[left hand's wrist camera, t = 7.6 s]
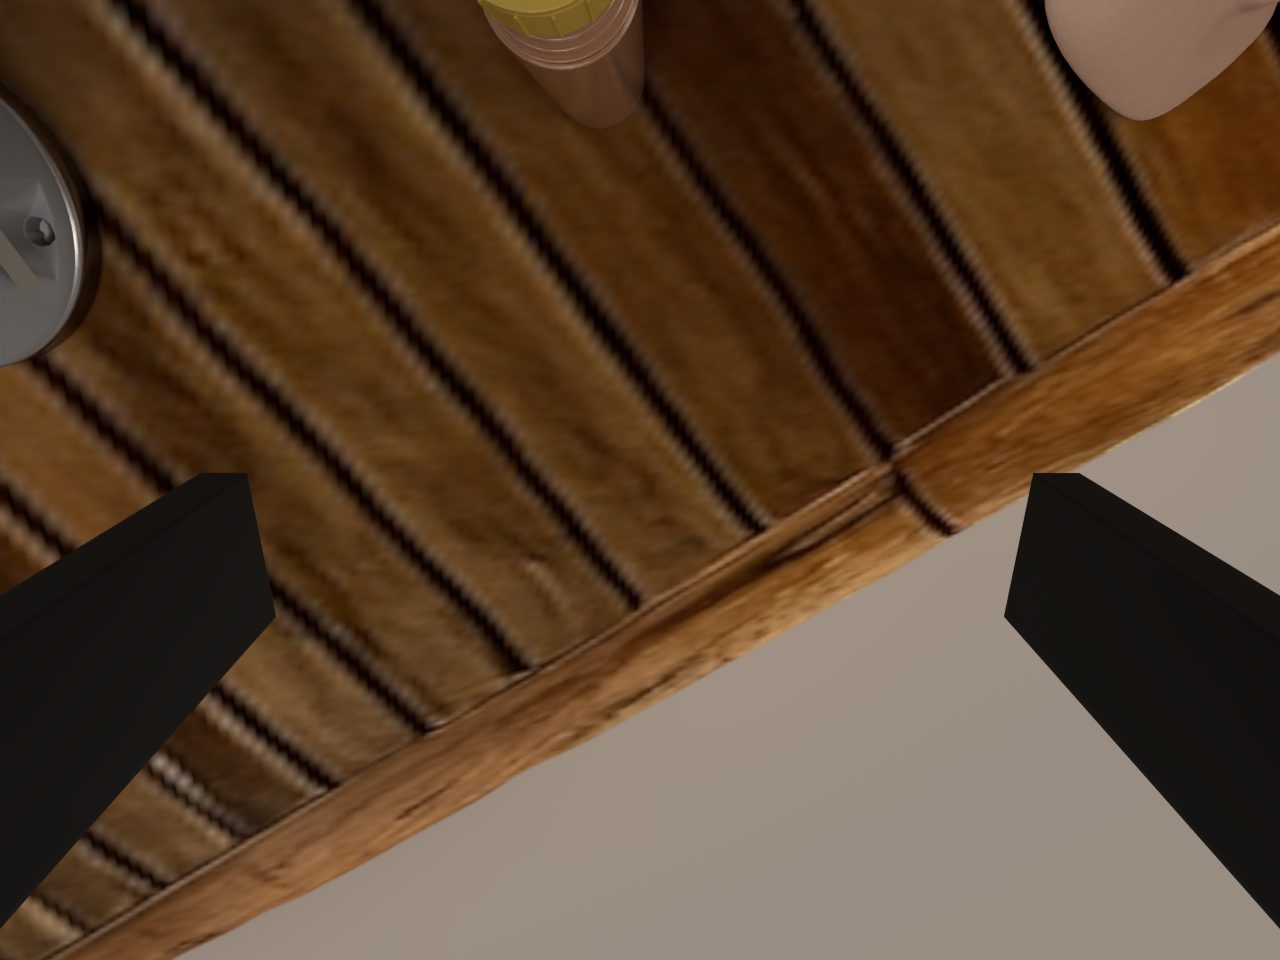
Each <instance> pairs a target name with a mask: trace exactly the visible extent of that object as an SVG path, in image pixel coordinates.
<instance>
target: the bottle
mask: <svg viewBox="0 0 1280 960" xmlns="http://www.w3.org/2000/svg"><path fill="white" fill-rule="evenodd" d="M483 11H484V14H485V16H486V18H487V20H488V22H489V24H490V26H491V27H492V29H493V30H494V32H495V33H496V35H497V36H498V37H499V39H500V40H501V41H502V42H503V43H504V45H505V46H506V47H507V48H508V49H509V50H510V52H511V53H512V54H513V55H514V56H515V57H516V58H517V59H518V61H519V62H520V63H521V64H522V65H523V66H524V67H525V69H526V70H527V71H528V72H529V73H530V74H531V75H532V77H533V78H534V79H535V80H536V81H537V82H538V83H539V85H540V86H541V87H542V88H543V89H544V90H545V91H546V93H547V94H548V95H549V96H550V97H551V98H552V99H553V101H554V102H555V103H556V104H557V105H558V106H559V107H560V109H561V110H562V111H563V112H564V113H565V114H566V115H567V116H568V117H569V118H570V119H572V120H573V121H575V122H576V123H578V124H580V125H583V126H585V127H589V128H607V127H611V126H614V125H616V124H618V123H620V122H622V121H623V120H624V119H626V118H627V117H628V116H629V115H630V114H631V113H632V112H633V110H634V109H635V108H636V106H637V104H638V103H639V101H640V98H641V96H642V93H643V90H644V84H645V56H644V29H643V2H642V0H611V2H610V3H609V4H608V6H607V7H606V8H605V9H604V10H603V11H602V12H601V13H600V14H599V15H598V16H597V17H596V21H595V22H593V21H591V22H590V23H588V24H586V25H585V26H583V27H581V28H580V29H578V30H575V31H573V32H570V33H567V34H564V37H561V36H560V35H559V36H550V37H541V36H532V35H530V37H526V36H525V34H523V33H520V32H518V31H515V30H512V29H511V28H509V27H507V26H505V25H503V24H501V23H500V22H499V21H497V22H494V21H493V20H492V18H491V17H490V16H489V15H488V14H487V12H486V11H485V10H484V9H483Z"/></svg>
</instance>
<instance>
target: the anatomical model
mask: <svg viewBox="0 0 1280 960" xmlns="http://www.w3.org/2000/svg"><path fill="white" fill-rule="evenodd" d="M1279 1H1280V0H1045V10H1046V15H1047V19H1048V23H1049V27H1050V29H1051V32H1052V34H1053V37H1054V39H1055V41H1056V43H1057V45H1058V47H1059V49H1060V51H1061V53H1062V55H1063V56H1064V58H1065V59H1066V60H1067V62H1068V63H1069V65H1070V66H1071V68H1072V69H1073V70H1074V72H1075V73H1076V74H1077V75H1078V76H1079V77H1080V79H1081V80H1082V81H1083V82H1084V83H1085V84H1086V86H1087V87H1088V88H1089V89H1090V90H1091V91H1092V92H1093V93H1095V94H1096V95H1097V96H1098V97H1099V98H1100V99H1101V100H1102V101H1103V102H1104V103H1105V104H1107V105H1108V106H1109V107H1110V108H1112V109H1113V110H1114V111H1116V112H1118V113H1119V114H1121V115H1122V116H1125V117H1127V118H1130V119H1134V120H1149V119H1152V118H1155V117H1158V116H1160V115H1162V114H1164V113H1166V112H1168V111H1170V110H1171V109H1173V108H1174V107H1176V106H1177V105H1179V104H1181V103H1182V102H1184V101H1185V100H1186V99H1188V98H1189V97H1190V96H1191V95H1193V94H1194V93H1195V92H1197V91H1198V90H1199V89H1201V88H1202V87H1203V86H1205V85H1206V84H1207V83H1208V82H1210V81H1211V80H1212V79H1214V78H1215V77H1216V76H1217V75H1219V74H1220V73H1221V72H1222V71H1223V70H1224V69H1226V68H1227V67H1228V66H1229V65H1230V64H1231V63H1232V62H1233V61H1234V60H1235V59H1236V58H1237V57H1238V56H1239V55H1240V54H1241V53H1242V52H1243V51H1244V50H1245V49H1246V48H1247V47H1248V46H1249V45H1250V44H1251V43H1252V42H1253V41H1254V40H1255V39H1256V38H1257V37H1258V35H1259V34H1260V33H1261V32H1262V30H1263V29H1264V28H1265V26H1266V25H1267V23H1268V22H1269V20H1270V18H1271V17H1272V15H1273V12H1274V10H1275V7H1276V5H1277V2H1279Z"/></svg>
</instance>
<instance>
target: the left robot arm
mask: <svg viewBox="0 0 1280 960" xmlns="http://www.w3.org/2000/svg"><path fill="white" fill-rule="evenodd" d="M99 263H100V258H99V240H98V232H97V227H96V222H95V217H94V214H93V210H92V207H91V203H90V200H89V198H88V195H87V193H86V190H85V187H84V185H83V183H82V181H81V179H80V177H79V175H78V172H77V170H76V169H75V167H74V165H73V163H72V162H71V160H70V158H69V157H68V155H67V153H66V152H65V150H64V149H63V147H62V146H61V145H60V143H59V142H58V140H57V139H56V138H55V136H54V135H53V134H52V133H51V131H50V130H49V129H48V128H47V126H46V125H45V124H44V123H43V122H42V121H41V120H40V119H39V118H38V116H37V115H36V114H35V113H34V112H33V111H32V110H31V109H30V108H29V107H28V106H26V105H25V104H24V103H23V102H22V101H21V100H20V99H19V98H18V97H16V96H15V95H14V94H13V93H11V92H10V91H9V90H8V89H6V88H5V87H4V86H2V85H1V84H0V367H5V366H9V365H13V364H17V363H21V362H25V361H28V360H32V359H34V358H37V357H39V356H42V355H44V354H46V353H48V352H49V351H51V350H53V349H55V348H56V347H57V346H59V345H60V344H61V343H63V342H64V341H65V340H66V339H67V338H68V337H69V336H70V335H71V334H72V333H73V332H74V331H75V330H76V328H77V327H78V326H79V325H80V323H81V322H82V320H83V318H84V317H85V315H86V313H87V311H88V309H89V307H90V305H91V302H92V300H93V296H94V293H95V290H96V285H97V280H98V274H99ZM275 617H276V614H275V609H274V604H273V600H272V595H271V590H270V585H269V580H268V575H267V570H266V565H265V560H264V556H263V551H262V546H261V541H260V536H259V531H258V526H257V521H256V516H255V512H254V507H253V502H252V497H251V492H250V487H249V482H248V477H247V473H200V474H198V475H197V476H195V477H194V478H192V479H190V480H189V481H187V482H185V483H184V484H182V485H180V486H179V487H177V488H176V489H174V490H172V491H171V492H169V493H167V494H166V495H164V496H162V497H161V498H159V499H158V500H156V501H154V502H153V503H151V504H149V505H148V506H146V507H144V508H143V509H141V510H140V511H138V512H136V513H135V514H133V515H131V516H130V517H128V518H126V519H125V520H123V521H121V522H120V523H118V524H117V525H115V526H113V527H112V528H110V529H108V530H107V531H105V532H103V533H102V534H100V535H99V536H97V537H95V538H94V539H92V540H90V541H89V542H87V543H85V544H84V545H82V546H81V547H79V548H77V549H76V550H74V551H72V552H71V553H69V554H67V555H66V556H64V557H63V558H61V559H59V560H58V561H56V562H54V563H53V564H51V565H49V566H48V567H46V568H45V569H43V570H41V571H40V572H38V573H36V574H35V575H33V576H31V577H30V578H28V579H27V580H25V581H23V582H22V583H20V584H18V585H17V586H15V587H13V588H12V589H10V590H9V591H7V592H5V593H4V594H2V595H0V928H1V927H2V926H3V925H4V924H5V923H6V922H7V920H8V919H9V918H10V917H11V916H12V915H13V914H14V912H15V911H16V910H17V909H18V908H19V907H20V906H21V905H22V903H23V902H24V901H25V900H26V899H27V898H28V897H29V896H30V894H31V893H32V892H33V891H34V890H35V889H36V888H37V886H38V885H39V884H40V883H41V882H42V881H43V880H44V879H45V877H46V876H47V875H48V874H49V873H50V872H51V871H52V869H53V868H54V867H55V866H56V865H57V864H58V863H59V862H60V860H61V859H62V858H63V857H64V856H65V855H66V854H67V853H68V851H69V850H70V849H71V848H72V847H73V846H74V845H75V843H76V842H77V841H78V840H79V839H80V838H81V837H82V836H83V834H84V833H85V832H86V831H87V830H88V829H89V828H90V826H91V825H92V824H93V823H94V822H95V821H96V820H97V819H98V817H99V816H100V815H101V814H102V813H103V812H104V811H105V810H106V808H107V807H108V806H109V805H110V804H111V803H112V802H113V800H114V799H115V798H116V797H117V796H118V795H119V794H120V793H121V791H122V790H123V789H124V788H125V787H126V786H127V785H128V783H129V782H130V781H131V780H132V779H133V778H134V777H135V776H136V774H137V773H138V772H139V771H140V770H141V769H142V768H143V767H144V765H145V764H146V763H147V762H148V761H149V760H150V759H151V757H152V756H153V755H154V754H155V753H156V752H157V751H158V750H159V748H160V747H161V746H162V745H163V744H164V743H165V742H166V741H167V739H168V738H169V737H170V736H171V735H172V734H173V733H174V731H175V730H176V729H177V728H178V727H179V726H180V725H181V724H182V722H183V721H184V720H185V719H186V718H187V717H188V716H189V714H190V713H191V712H192V711H193V710H194V709H195V708H196V707H197V705H198V704H199V703H200V702H201V701H202V700H203V699H204V698H205V696H206V695H207V694H208V693H209V692H210V691H211V690H212V688H213V687H214V686H215V685H216V684H217V683H218V682H219V681H220V679H221V678H222V677H223V676H224V675H225V674H226V673H227V671H228V670H229V669H230V668H231V667H232V666H233V665H234V664H235V662H236V661H237V660H238V659H239V658H240V657H241V656H242V655H243V653H244V652H245V651H246V650H247V649H248V648H249V647H250V645H251V644H252V643H253V642H254V641H255V640H256V639H257V638H258V636H259V635H260V634H261V633H262V632H263V631H264V630H265V628H266V627H267V626H268V625H269V624H270V623H271V622H272V621H273V619H274V618H275ZM1004 617H1005V618H1006V619H1007V621H1008V622H1009V623H1010V624H1011V625H1012V626H1013V627H1014V628H1015V629H1016V631H1017V632H1018V633H1019V634H1020V635H1021V636H1022V637H1023V639H1024V640H1025V641H1026V642H1027V643H1028V644H1029V645H1030V647H1031V648H1032V649H1033V650H1034V651H1035V652H1036V653H1037V654H1038V656H1039V657H1040V658H1041V659H1042V660H1043V661H1044V662H1045V664H1046V665H1047V666H1048V667H1049V668H1050V669H1051V670H1052V671H1053V673H1054V674H1055V675H1056V676H1057V677H1058V678H1059V679H1060V681H1061V682H1062V683H1063V684H1064V685H1065V686H1066V687H1067V688H1068V690H1069V691H1070V692H1071V693H1072V694H1073V695H1074V696H1075V697H1076V699H1077V700H1078V701H1079V702H1080V703H1081V704H1082V705H1083V707H1084V708H1085V709H1086V710H1087V711H1088V712H1089V713H1090V714H1091V716H1092V717H1093V718H1094V719H1095V720H1096V721H1097V722H1098V724H1099V725H1100V726H1101V727H1102V728H1103V729H1104V730H1105V731H1106V733H1107V734H1108V735H1109V736H1110V737H1111V738H1112V739H1113V741H1114V742H1115V743H1116V744H1117V745H1118V746H1119V747H1120V748H1121V750H1122V751H1123V752H1124V753H1125V754H1126V755H1127V756H1128V757H1129V759H1130V760H1131V761H1132V762H1133V763H1134V764H1135V765H1136V767H1137V768H1138V769H1139V770H1140V771H1141V772H1142V773H1143V774H1144V776H1145V777H1146V778H1147V779H1148V780H1149V781H1150V782H1151V784H1152V785H1153V786H1154V787H1155V788H1156V789H1157V790H1158V791H1159V792H1160V794H1161V795H1162V796H1163V797H1164V798H1165V799H1166V800H1167V802H1168V803H1169V804H1170V805H1171V806H1172V807H1173V808H1174V809H1175V811H1176V812H1177V813H1178V814H1179V815H1180V816H1181V817H1182V819H1183V820H1184V821H1185V822H1186V823H1187V824H1188V825H1189V826H1190V828H1191V829H1192V830H1193V831H1194V832H1195V833H1196V834H1197V836H1198V837H1199V838H1200V839H1201V840H1202V841H1203V842H1204V843H1205V845H1206V846H1207V847H1208V848H1209V849H1210V850H1211V851H1212V853H1213V854H1214V855H1215V856H1216V857H1217V858H1218V859H1219V860H1220V862H1221V863H1222V864H1223V865H1224V866H1225V867H1226V868H1227V869H1228V871H1229V872H1230V873H1231V874H1232V875H1233V876H1234V877H1235V878H1236V880H1237V881H1238V882H1239V883H1240V884H1241V885H1242V886H1243V888H1244V889H1245V890H1246V891H1247V892H1248V893H1249V894H1250V895H1251V897H1252V898H1253V899H1254V900H1255V901H1256V902H1257V903H1258V905H1259V906H1260V907H1261V908H1262V909H1263V910H1264V911H1265V912H1266V914H1267V915H1268V916H1269V917H1270V918H1271V919H1272V920H1273V921H1274V923H1275V924H1276V925H1277V926H1278V927H1279V928H1280V595H1278V594H1276V593H1275V592H1273V591H1271V590H1270V589H1268V588H1267V587H1265V586H1263V585H1262V584H1260V583H1258V582H1257V581H1255V580H1253V579H1252V578H1250V577H1249V576H1247V575H1245V574H1244V573H1242V572H1240V571H1239V570H1237V569H1235V568H1234V567H1232V566H1230V565H1229V564H1227V563H1226V562H1224V561H1222V560H1221V559H1219V558H1217V557H1216V556H1214V555H1213V554H1211V553H1209V552H1208V551H1206V550H1204V549H1203V548H1201V547H1199V546H1198V545H1196V544H1195V543H1193V542H1191V541H1190V540H1188V539H1186V538H1185V537H1183V536H1181V535H1180V534H1178V533H1177V532H1175V531H1173V530H1172V529H1170V528H1168V527H1167V526H1165V525H1163V524H1162V523H1160V522H1158V521H1157V520H1155V519H1154V518H1152V517H1150V516H1149V515H1147V514H1145V513H1144V512H1142V511H1140V510H1139V509H1137V508H1136V507H1134V506H1132V505H1131V504H1129V503H1127V502H1126V501H1124V500H1122V499H1121V498H1119V497H1118V496H1116V495H1114V494H1113V493H1111V492H1109V491H1108V490H1106V489H1104V488H1103V487H1101V486H1100V485H1098V484H1096V483H1095V482H1093V481H1091V480H1090V479H1088V478H1086V477H1085V476H1083V475H1082V474H1080V473H1033V477H1032V482H1031V487H1030V492H1029V497H1028V502H1027V507H1026V512H1025V517H1024V521H1023V526H1022V531H1021V536H1020V541H1019V546H1018V551H1017V556H1016V560H1015V565H1014V570H1013V575H1012V580H1011V585H1010V590H1009V595H1008V600H1007V605H1006V609H1005V614H1004Z"/></svg>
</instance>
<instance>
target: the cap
mask: <svg viewBox="0 0 1280 960" xmlns="http://www.w3.org/2000/svg"><path fill="white" fill-rule="evenodd" d="M477 2H478V3H479V4H480V5H481V6H482V8H483V9H484V10H485V11H486V12H487V14H488V15H489V16H490V17H491V18H492V20H493V21H494V22H497V21H499V22H500V23H501V24H503V25H505V26H507V27H509V28H511V29H512V30H515V31H518V32H520V33H523V34H525V36H526V37H530V35H532V36H541V37H550V36H559V35H560V36H561V37H564V34H567V33H570V32H573V31H575V30H578V29H580V28H581V27H583V26H585V25H586V24H588V23H590V22H591V21H593V22H595V21H596V17H597V16H598V15H599V14H600V13H601V12H602V11H603V10H604V9H605V8H606V7H607V6H608V4H609V3H610V2H611V0H477Z"/></svg>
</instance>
